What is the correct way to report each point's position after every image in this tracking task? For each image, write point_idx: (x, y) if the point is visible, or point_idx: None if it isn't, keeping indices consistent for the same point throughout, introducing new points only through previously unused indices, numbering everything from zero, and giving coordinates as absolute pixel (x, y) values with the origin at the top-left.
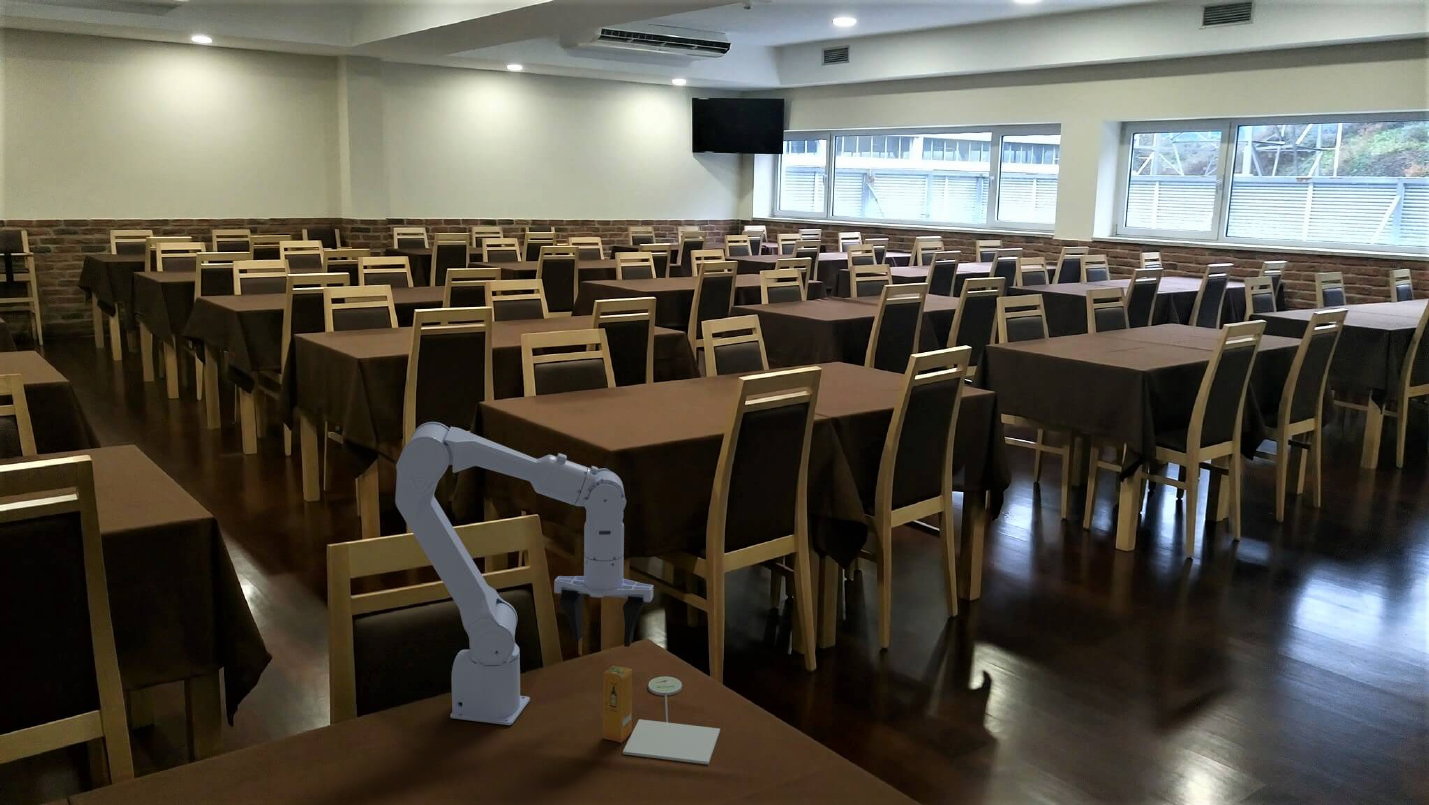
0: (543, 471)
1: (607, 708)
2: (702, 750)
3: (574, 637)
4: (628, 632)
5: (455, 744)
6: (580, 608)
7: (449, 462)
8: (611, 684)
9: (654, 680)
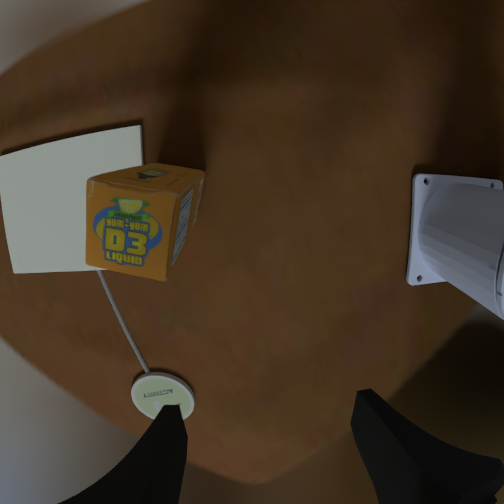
0: None
1: (180, 173)
2: (12, 189)
3: (376, 395)
4: (146, 442)
5: (466, 99)
6: (391, 498)
7: None
8: (148, 180)
9: (187, 409)
